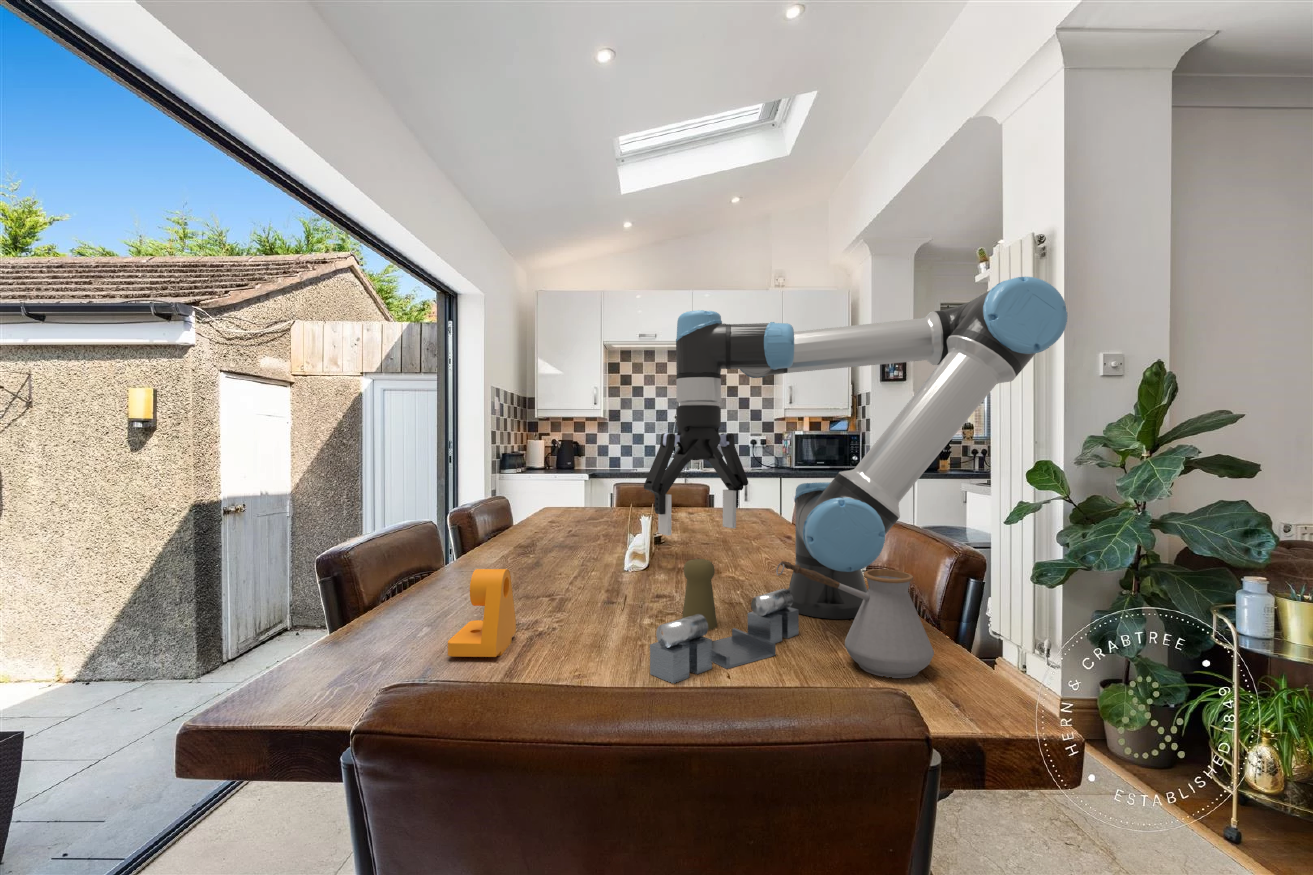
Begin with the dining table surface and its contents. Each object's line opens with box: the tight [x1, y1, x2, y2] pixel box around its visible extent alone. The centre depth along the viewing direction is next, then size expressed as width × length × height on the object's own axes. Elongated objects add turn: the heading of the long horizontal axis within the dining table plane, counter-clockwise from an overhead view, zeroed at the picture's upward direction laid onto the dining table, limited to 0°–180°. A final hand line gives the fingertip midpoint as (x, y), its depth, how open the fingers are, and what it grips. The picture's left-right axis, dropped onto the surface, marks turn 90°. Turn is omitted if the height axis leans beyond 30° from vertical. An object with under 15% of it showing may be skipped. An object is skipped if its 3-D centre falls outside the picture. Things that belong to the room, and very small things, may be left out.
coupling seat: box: [712, 627, 777, 670], centre depth 90 cm, size 9×9×2 cm
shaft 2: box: [747, 588, 800, 644], centre depth 97 cm, size 8×4×7 cm, turn 133°
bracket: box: [447, 568, 517, 658], centre depth 92 cm, size 11×7×12 cm, turn 178°
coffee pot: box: [775, 560, 935, 679], centre depth 83 cm, size 21×12×15 cm, turn 95°
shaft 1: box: [649, 614, 713, 684], centre depth 82 cm, size 8×4×7 cm, turn 133°
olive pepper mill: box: [681, 558, 718, 631], centre depth 103 cm, size 6×6×11 cm
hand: (698, 530), depth 103 cm, fingers open, 13 cm apart
